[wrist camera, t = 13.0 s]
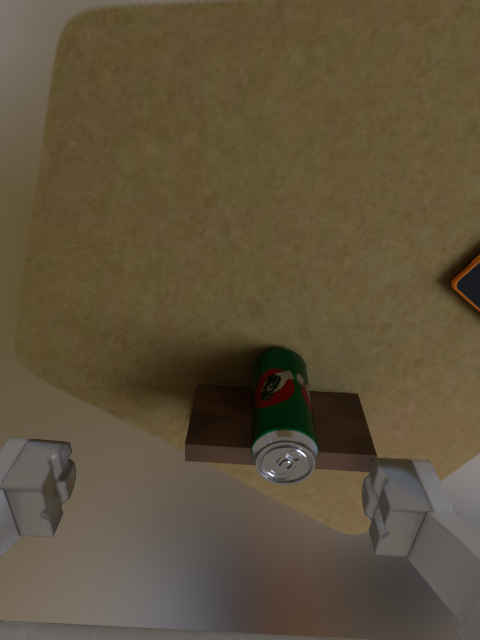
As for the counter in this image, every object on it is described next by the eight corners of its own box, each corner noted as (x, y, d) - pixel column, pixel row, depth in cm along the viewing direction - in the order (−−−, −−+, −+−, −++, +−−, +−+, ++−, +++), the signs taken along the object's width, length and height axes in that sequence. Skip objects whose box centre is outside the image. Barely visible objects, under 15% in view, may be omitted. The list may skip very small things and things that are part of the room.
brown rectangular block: (197, 422, 45) (186, 485, 38) (197, 384, 43) (184, 444, 36) (349, 431, 45) (366, 496, 38) (358, 393, 43) (377, 455, 36)
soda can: (243, 374, 42) (237, 472, 32) (270, 336, 40) (273, 428, 29) (287, 395, 43) (295, 497, 33) (316, 359, 41) (335, 456, 30)
